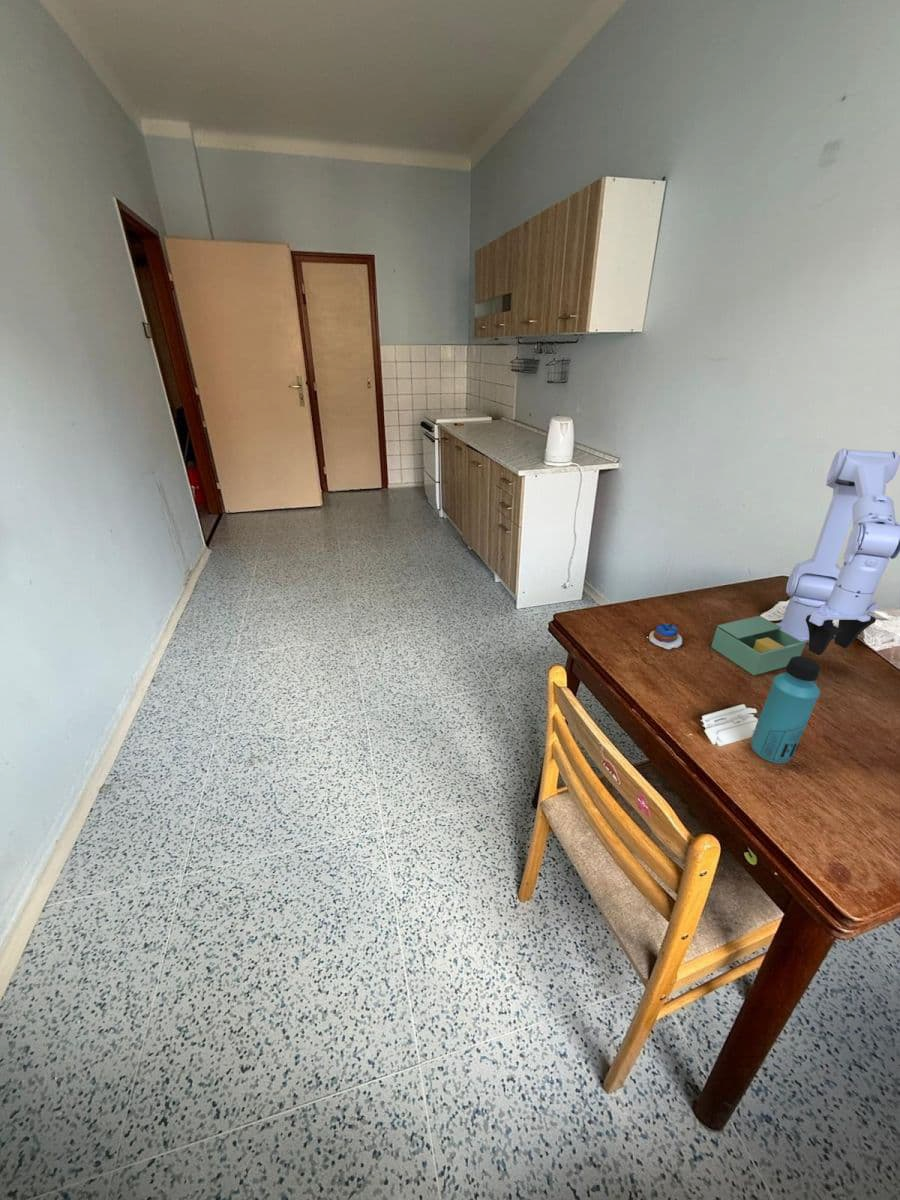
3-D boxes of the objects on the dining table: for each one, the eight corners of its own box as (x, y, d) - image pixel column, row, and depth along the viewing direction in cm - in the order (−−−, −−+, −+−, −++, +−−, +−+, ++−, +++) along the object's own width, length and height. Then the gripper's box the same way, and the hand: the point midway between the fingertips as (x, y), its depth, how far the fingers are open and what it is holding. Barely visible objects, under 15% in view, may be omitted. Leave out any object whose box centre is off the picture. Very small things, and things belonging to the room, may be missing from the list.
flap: (831, 634, 97) (832, 635, 97) (806, 640, 103) (807, 642, 103) (785, 646, 94) (786, 647, 94) (762, 652, 99) (762, 653, 99)
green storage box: (752, 636, 115) (759, 615, 112) (797, 663, 106) (806, 640, 103) (711, 646, 112) (717, 625, 109) (753, 675, 102) (762, 652, 99)
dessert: (657, 624, 120) (673, 614, 115) (675, 645, 118) (692, 635, 113) (640, 638, 115) (657, 627, 110) (659, 660, 114) (676, 650, 109)
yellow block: (761, 653, 108) (767, 636, 106) (777, 663, 105) (784, 646, 103) (750, 656, 107) (755, 639, 105) (765, 666, 104) (771, 649, 102)
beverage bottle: (775, 776, 78) (817, 680, 69) (737, 750, 83) (772, 657, 74) (798, 762, 81) (842, 667, 71) (760, 737, 86) (796, 646, 77)
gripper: (848, 603, 81) (820, 667, 87) (906, 589, 85) (875, 652, 91) (809, 586, 87) (785, 647, 93) (865, 574, 90) (838, 634, 97)
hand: (827, 648), depth 92 cm, fingers open, 6 cm apart
